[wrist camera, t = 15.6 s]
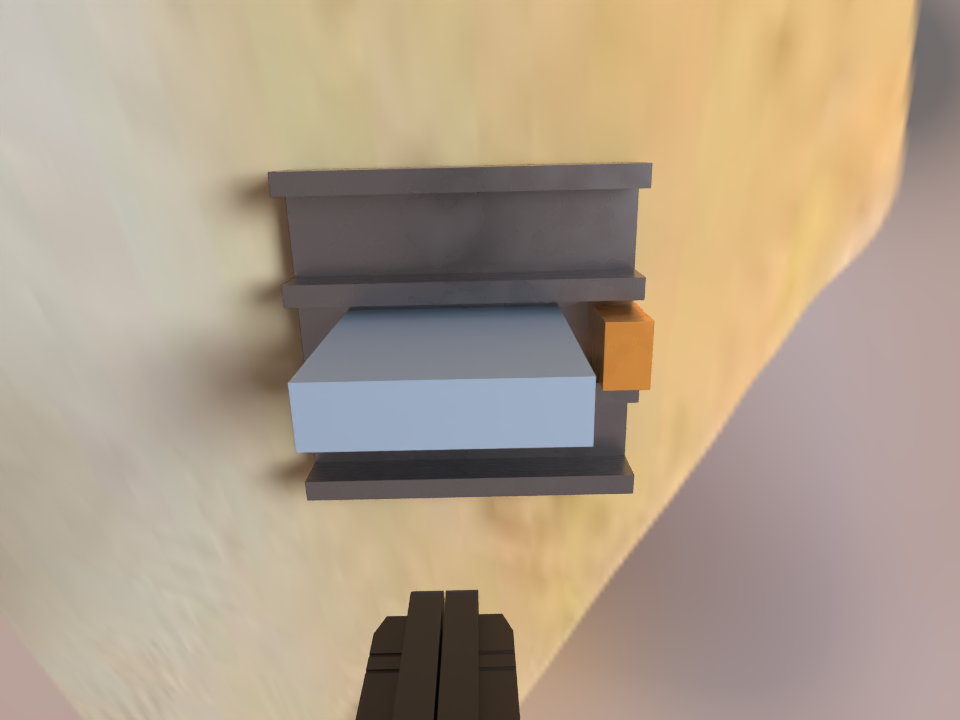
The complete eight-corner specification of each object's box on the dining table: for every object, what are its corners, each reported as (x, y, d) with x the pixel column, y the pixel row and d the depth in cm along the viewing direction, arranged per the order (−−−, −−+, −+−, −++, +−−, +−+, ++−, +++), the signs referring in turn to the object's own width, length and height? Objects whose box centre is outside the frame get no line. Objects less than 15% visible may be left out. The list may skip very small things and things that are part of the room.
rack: (321, 471, 40) (295, 524, 35) (287, 170, 35) (250, 173, 29) (620, 465, 40) (643, 516, 35) (635, 162, 35) (666, 163, 29)
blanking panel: (351, 360, 37) (296, 452, 26) (347, 310, 36) (287, 383, 25) (557, 356, 37) (593, 446, 26) (558, 305, 36) (595, 376, 25)
